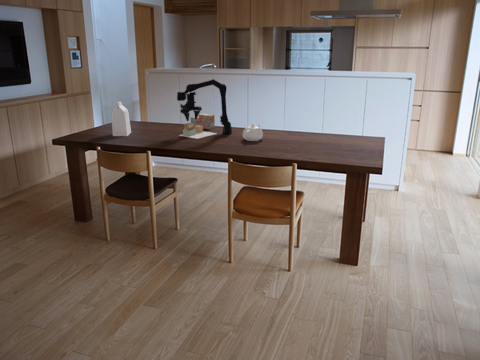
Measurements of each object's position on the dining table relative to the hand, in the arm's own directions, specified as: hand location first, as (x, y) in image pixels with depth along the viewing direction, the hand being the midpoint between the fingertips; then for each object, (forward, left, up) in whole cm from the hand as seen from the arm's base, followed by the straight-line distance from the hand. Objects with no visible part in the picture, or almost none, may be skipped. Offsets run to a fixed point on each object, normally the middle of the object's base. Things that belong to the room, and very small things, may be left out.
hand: (191, 120), depth 328 cm
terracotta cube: (+2, -9, -11) cm, 14 cm away
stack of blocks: (+13, -26, -12) cm, 31 cm away
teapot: (-48, -16, -12) cm, 52 cm away
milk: (+47, +33, -12) cm, 58 cm away
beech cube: (+1, +3, -7) cm, 8 cm away
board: (-4, -2, -12) cm, 13 cm away
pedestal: (+1, +3, -11) cm, 11 cm away
